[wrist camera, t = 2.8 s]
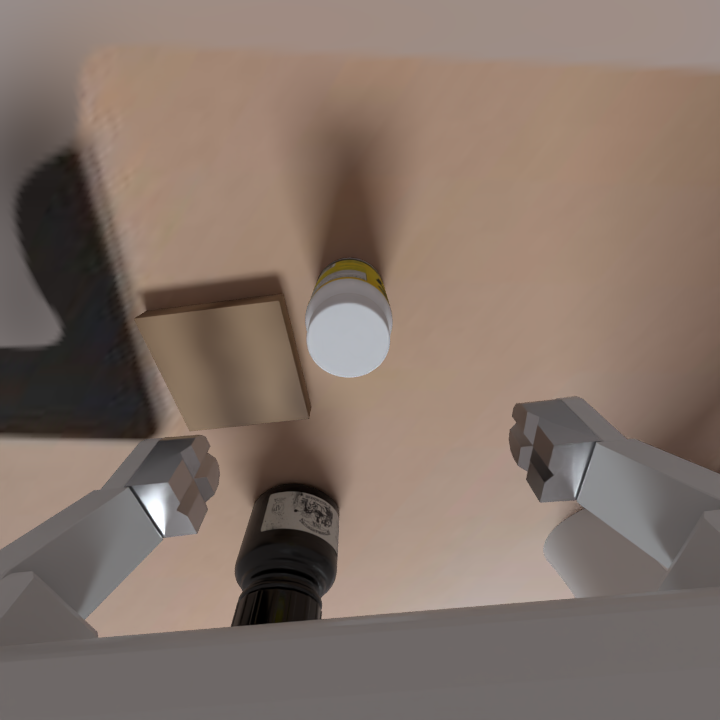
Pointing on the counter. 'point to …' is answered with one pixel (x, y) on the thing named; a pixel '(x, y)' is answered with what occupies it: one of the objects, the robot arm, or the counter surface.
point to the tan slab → (229, 361)
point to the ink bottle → (287, 556)
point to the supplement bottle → (348, 319)
